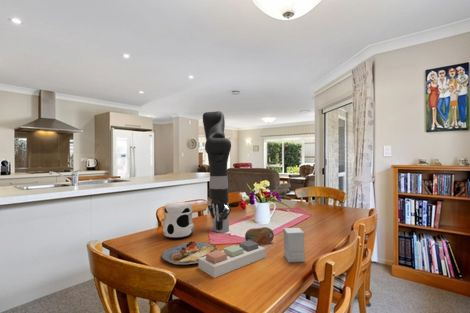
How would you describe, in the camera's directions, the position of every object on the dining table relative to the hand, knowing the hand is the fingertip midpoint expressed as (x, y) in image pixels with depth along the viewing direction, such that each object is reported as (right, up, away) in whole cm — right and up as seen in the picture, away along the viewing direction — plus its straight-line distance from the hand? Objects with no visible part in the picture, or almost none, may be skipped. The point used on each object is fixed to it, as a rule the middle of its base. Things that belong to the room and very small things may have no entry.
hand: (219, 229), depth 101 cm
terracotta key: (-1, -13, -1) cm, 13 cm away
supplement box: (+32, -15, +8) cm, 37 cm away
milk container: (-26, -16, +43) cm, 52 cm away
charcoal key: (+13, -12, +11) cm, 21 cm away
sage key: (+6, -13, +5) cm, 15 cm away
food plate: (-14, -16, +14) cm, 25 cm away
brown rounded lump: (+19, -16, +27) cm, 36 cm away
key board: (+6, -16, +5) cm, 17 cm away
